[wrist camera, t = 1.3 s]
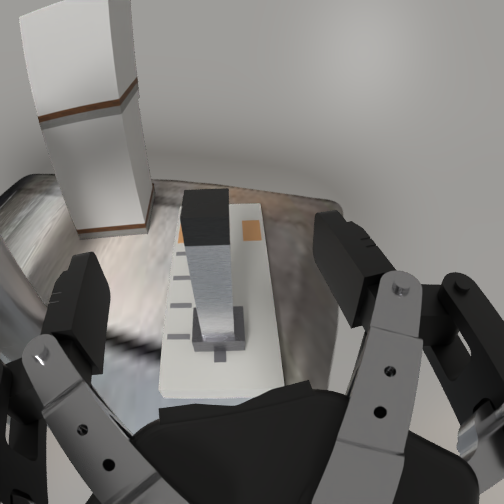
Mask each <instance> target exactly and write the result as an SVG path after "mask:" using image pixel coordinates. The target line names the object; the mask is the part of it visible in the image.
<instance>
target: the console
mask: <svg viewBox="0 0 504 504" xmlns="http://www.w3.org/2000/svg"><path fill="white" fill-rule="evenodd" d="M181 208H182V206H180V210H179V216H178V222H177V228H176V235H175V241H174V248H173V255H172V262H171V270H170V277H169V285H168V294H167V302H166V311H165V320H164V330H163V341H162V352H161V364H160V378H159V391H160V393H161V394H162V396H163V397H164V398H177V399H219V398H248V397H257V396H259V395H261V394H263V393H265V392H267V391H269V390H271V389H275V388H279V387H283V386H284V378H283V370H282V362H281V354H280V346H279V338H278V330H277V323H276V315H275V307H274V300H273V292H272V285H271V277H270V270H269V262H268V255H267V248H266V240H265V233H264V226H263V219H262V212H261V205H260V203H254V204H229V219H230V247H231V272H232V295H233V306H243V313H244V329H245V350H243V351H211V352H194V348H193V345H192V326H193V308H195V307H196V304H195V299H194V294H193V289H192V284H191V279H190V274H189V268H188V263H187V257H186V252H185V246H184V240H183V234H182V228H181V222H180V214H181Z"/></svg>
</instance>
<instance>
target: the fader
mask: <svg viewBox="0 0 504 504" xmlns="http://www.w3.org/2000/svg"><path fill="white" fill-rule="evenodd" d="M180 222H181V228H182V234H183V240H184V246H185V252H186V257H187V263H188V268H189V274H190V279H191V284H192V289H193V294H194V299H195V304H196V307H195V308H193V326H192V345H193V348H194V352H211V351H243V350H245V329H244V313H243V306H233V295H232V272H231V247H230V219H229V188H226V189H200V190H184V196H183V202H182V208H181V214H180Z"/></svg>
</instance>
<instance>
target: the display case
mask: <svg viewBox="0 0 504 504" xmlns="http://www.w3.org/2000/svg"><path fill="white" fill-rule="evenodd" d="M19 22H20V30H21V37H22V44H23V50H24V56H25V61H26V67H27V72H28V77H29V82H30V86H31V91H32V95H33V99H34V104H35V107H36V112H37V115H38V119H39V123H40V127H41V130H42V134H43V137H44V141H45V144H46V147H47V150H48V154H49V157H50V160H51V163H52V166H53V169H54V172H55V175H56V178H57V181H58V184H59V186H60V189H61V192H62V195H63V197H64V200H65V203H66V205H67V208H68V210H69V213H70V216H71V218H72V221H73V223H74V225H75V228H76V230H77V233H78V235H79V237H80V239H91V238H102V237H114V236H125V235H138V234H148V228H149V223H150V217H151V212H152V207H153V202H154V197H155V189H154V183H152V181H151V176H150V170H149V165H148V159H147V153H146V148H145V142H144V135H143V129H142V122H141V116H140V109H139V101H138V99H139V98H140V95H139V87H138V79H137V71H136V61H135V51H134V41H133V29H132V15H131V0H64V1H61V2H58V3H55V4H52V5H49V6H46V7H44V8H41V9H38V10H36V11H33V12H31V13H28V14H26V15H24V16H21V17H19Z"/></svg>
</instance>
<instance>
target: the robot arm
mask: <svg viewBox="0 0 504 504" xmlns="http://www.w3.org/2000/svg"><path fill="white" fill-rule="evenodd" d="M313 255H314V259H315V262H316V264H317V266H318V268H319V270H320V271H321V273H322V275H323V277H324V279H325V280H326V282H327V284H328V286H329V288H330V290H331V291H332V293H333V295H334V297H335V299H336V301H337V302H338V304H339V306H340V308H341V310H342V312H343V314H344V316H345V317H346V319H347V321H348V323H349V325H350V327H351V328H355V327H358V326H363V327H364V329H365V333H364V336H363V339H362V343H361V347H360V350H359V354H358V357H357V360H356V364H355V367H354V370H353V374H352V377H351V380H350V383H349V386H348V388H347V391H346V394H345V395H344V394H341V393H337V392H334V391H328V390H319V389H312V387H311V385H310V382H309V380H307V381H303V382H299V383H295V384H291V385H287V386H283V387H279V388H275V389H271V390H269V391H267V392H265V393H263V394H261V395H259V396H257V397H255V398H253V399H250V400H248V401H246V402H244V403H242V404H239V405H236V406H223V405H207V404H189V405H182V406H175V407H167V408H159V418H160V419H157V420H155V421H153V422H151V423H149V424H147V425H146V426H144V427H143V428H141V429H140V430H139V431H138V432H136V433H135V434H134V435H133V433H132V432H131V431H130V430H129V429H128V428H127V427H126V426H125V425H124V424H123V423H122V422H121V420H120V419H119V418H118V417H117V416H116V415H115V413H114V412H113V411H112V410H111V408H110V407H109V406H108V405H107V403H106V402H105V401H104V400H103V398H102V397H101V396H100V394H99V393H98V392H97V391H96V389H95V388H94V387H93V385H92V384H91V377H92V375H97V374H103V363H104V351H105V341H106V331H107V322H108V314H109V307H110V289H109V285H108V283H107V280H106V278H105V276H104V274H103V271H102V269H101V267H100V264H99V262H98V260H97V257H96V255H95V254H94V252H88V253H83V254H78V255H74V256H73V257H72V260H71V263H70V266H69V269H68V271H64V272H63V273H62V274H61V275H60V277H59V278H58V279H57V281H56V282H55V285H54V289H53V292H52V295H51V298H50V301H49V302H50V304H49V305H48V308H47V307H46V306H45V304H44V303H43V302H42V300H41V299H40V297H39V296H38V294H37V293H36V291H35V290H34V288H33V287H32V285H31V284H30V282H29V281H28V279H27V278H26V276H25V275H24V273H23V271H22V270H21V268H20V267H19V265H18V263H17V262H16V260H15V258H14V257H13V255H12V253H11V252H10V250H9V248H8V247H7V245H6V243H5V241H4V240H3V238H2V236H1V234H0V351H1V352H2V353H3V354H4V355H5V356H6V357H7V358H8V359H9V360H11V361H12V362H10V363H7V364H4V363H3V361H2V360H1V359H0V504H48V493H47V475H46V474H47V472H46V432H47V424H48V426H49V428H50V429H51V431H52V433H53V434H54V436H55V438H56V439H57V441H58V443H59V444H60V446H61V447H62V449H63V450H64V452H65V454H66V455H67V457H68V458H69V460H70V461H71V463H72V464H73V465H74V467H75V469H76V470H77V471H78V473H79V474H80V476H81V477H82V478H83V480H84V481H85V482H86V484H87V485H88V487H89V488H90V489H91V491H92V492H93V494H92V495H91V496H90V498H89V499H88V501H87V502H86V504H479V495H480V494H481V493H483V492H484V491H486V490H487V489H489V488H490V487H492V486H493V485H495V484H496V483H497V482H499V481H500V480H502V479H503V478H504V321H503V320H502V318H501V317H500V315H499V314H498V313H497V311H496V310H495V308H494V307H493V306H492V304H491V303H490V302H489V300H488V299H487V297H486V296H485V295H484V293H483V292H482V291H481V290H480V288H479V287H478V286H477V284H476V283H475V282H474V281H473V280H472V279H471V278H469V277H468V276H466V275H464V274H461V273H456V272H455V273H449V274H447V275H446V276H445V277H444V279H443V281H442V284H441V285H426V284H420V282H419V281H418V279H416V278H415V277H414V276H413V275H411V274H409V273H407V272H403V271H396V269H395V268H394V267H393V265H392V264H391V263H390V262H389V260H388V259H387V258H386V257H385V255H384V254H383V253H382V251H381V250H380V249H379V248H378V246H376V244H375V243H374V241H373V240H372V239H370V236H369V235H368V234H367V233H366V231H365V230H364V229H363V228H362V227H360V226H358V225H357V224H355V223H353V222H352V221H350V222H346V220H345V219H344V218H343V217H342V215H341V214H340V213H339V212H338V211H337V210H333V211H326V212H320V213H316V215H315V222H314V237H313ZM459 331H460V332H461V334H462V336H463V337H464V339H465V341H466V342H467V344H468V346H469V347H470V350H471V356H470V354H469V353H468V351H467V349H466V348H465V346H464V344H463V343H462V341H461V339H460V338H459V336H458V332H459ZM422 349H423V351H424V353H425V354H426V356H427V358H428V360H429V362H430V364H431V366H432V367H433V370H434V372H435V374H436V376H437V378H438V379H439V381H440V383H441V385H442V387H443V390H444V392H445V394H446V396H447V398H448V400H449V402H450V404H451V406H452V408H453V410H454V412H455V415H456V417H457V419H458V421H459V423H460V429H459V431H458V443H457V450H458V452H459V453H460V456H458V455H456V454H454V453H452V452H450V451H448V450H446V449H444V448H442V447H440V446H438V445H436V444H434V443H432V442H430V441H428V440H426V439H424V438H422V437H421V436H419V435H417V434H415V433H413V432H411V431H410V430H409V426H410V421H411V417H412V411H413V406H414V401H415V396H416V390H417V384H418V378H419V371H420V364H421V357H422ZM7 414H8V415H9V416H10V417H11V421H10V433H9V445H8V444H7V441H6V437H5V432H6V421H7Z"/></svg>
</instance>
